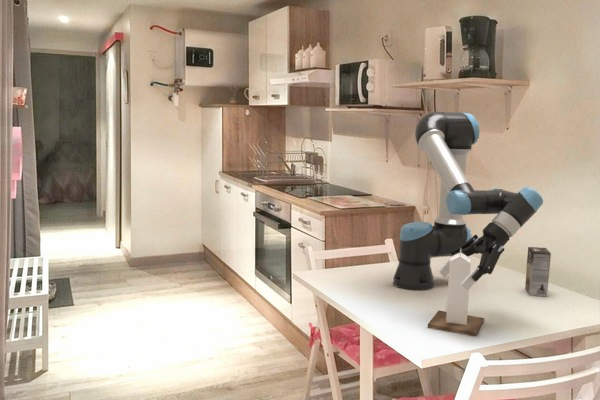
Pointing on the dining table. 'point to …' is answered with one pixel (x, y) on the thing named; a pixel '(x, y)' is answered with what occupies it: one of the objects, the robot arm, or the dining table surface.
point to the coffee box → (537, 271)
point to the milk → (458, 289)
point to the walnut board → (469, 329)
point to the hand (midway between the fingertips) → (452, 280)
